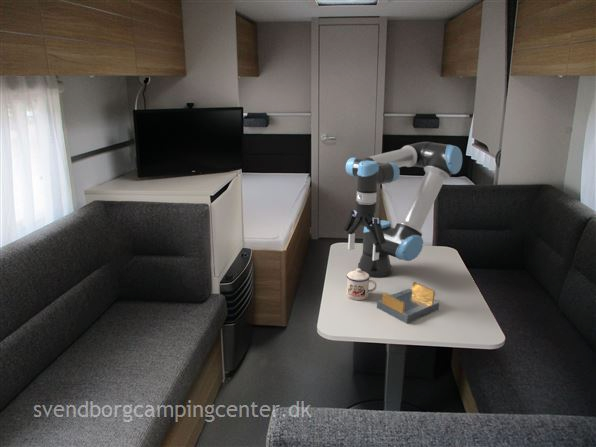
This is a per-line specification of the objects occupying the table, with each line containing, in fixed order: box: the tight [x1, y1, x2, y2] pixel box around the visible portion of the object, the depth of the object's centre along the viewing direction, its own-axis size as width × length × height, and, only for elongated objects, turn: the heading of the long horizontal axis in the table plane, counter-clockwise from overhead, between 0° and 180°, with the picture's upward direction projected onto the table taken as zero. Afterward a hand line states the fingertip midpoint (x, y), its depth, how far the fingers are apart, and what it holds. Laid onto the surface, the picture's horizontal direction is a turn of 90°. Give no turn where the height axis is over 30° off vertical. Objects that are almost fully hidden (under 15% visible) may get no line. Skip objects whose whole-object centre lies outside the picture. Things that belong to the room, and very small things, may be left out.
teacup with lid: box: [346, 267, 378, 301], centre depth 201 cm, size 12×9×12 cm
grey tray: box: [376, 281, 440, 324], centre depth 192 cm, size 15×18×7 cm
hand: (363, 254), depth 197 cm, fingers open, 13 cm apart
